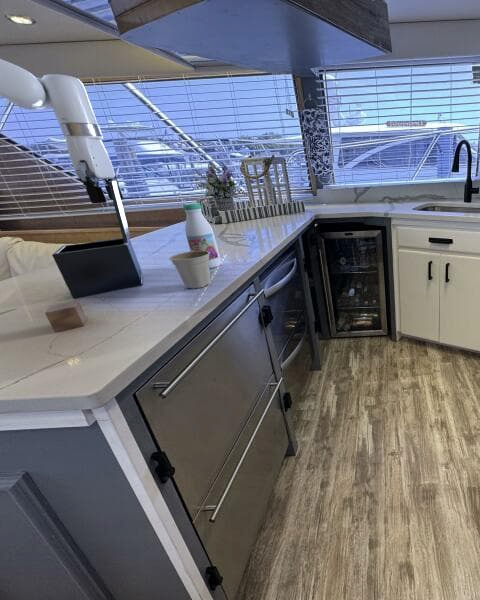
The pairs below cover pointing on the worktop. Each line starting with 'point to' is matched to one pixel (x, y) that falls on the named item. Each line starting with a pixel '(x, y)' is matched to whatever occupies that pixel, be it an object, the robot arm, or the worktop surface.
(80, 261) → the bin
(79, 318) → the block
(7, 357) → the worktop surface
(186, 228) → the milk bottle
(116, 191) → the bin lid
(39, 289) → the worktop surface
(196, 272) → the flower pot
